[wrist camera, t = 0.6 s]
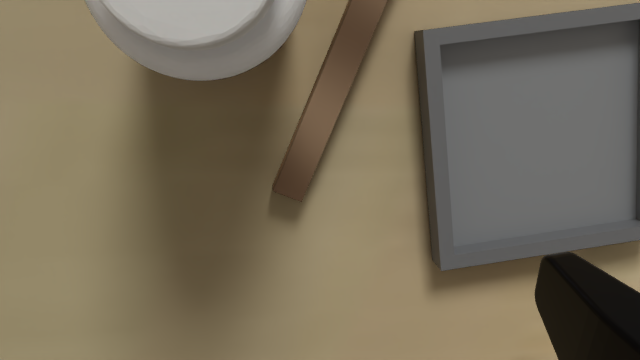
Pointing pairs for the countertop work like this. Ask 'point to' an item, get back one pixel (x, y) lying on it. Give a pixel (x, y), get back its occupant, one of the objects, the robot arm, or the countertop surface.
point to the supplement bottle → (197, 33)
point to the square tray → (531, 134)
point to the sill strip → (327, 96)
